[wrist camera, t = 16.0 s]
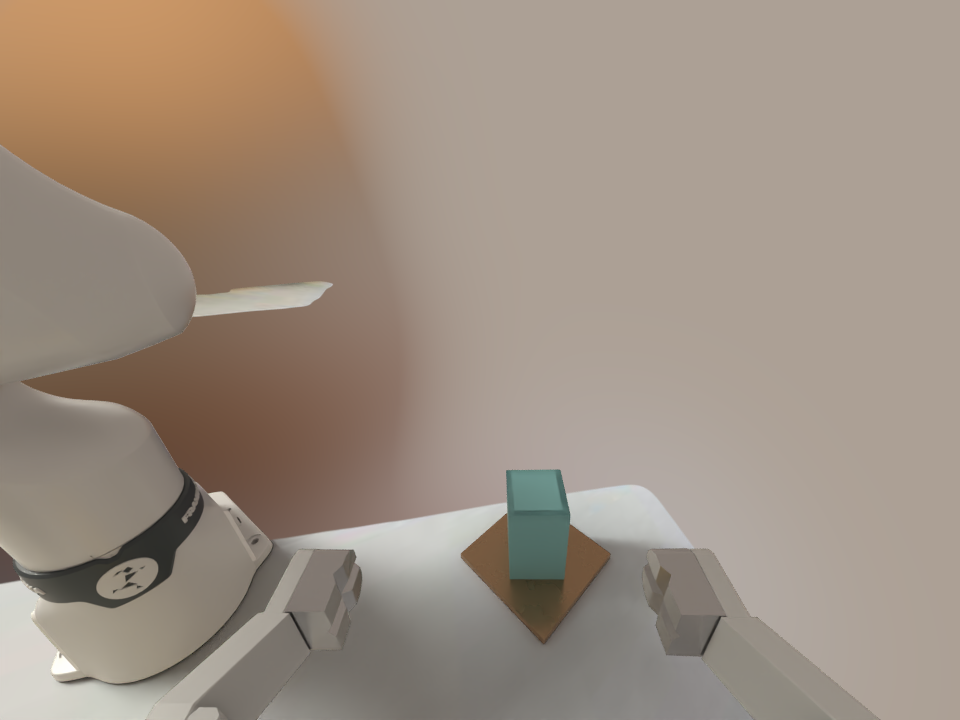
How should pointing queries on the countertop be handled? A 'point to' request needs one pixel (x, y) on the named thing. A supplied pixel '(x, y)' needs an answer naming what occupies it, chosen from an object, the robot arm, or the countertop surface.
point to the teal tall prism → (537, 524)
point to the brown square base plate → (536, 598)
